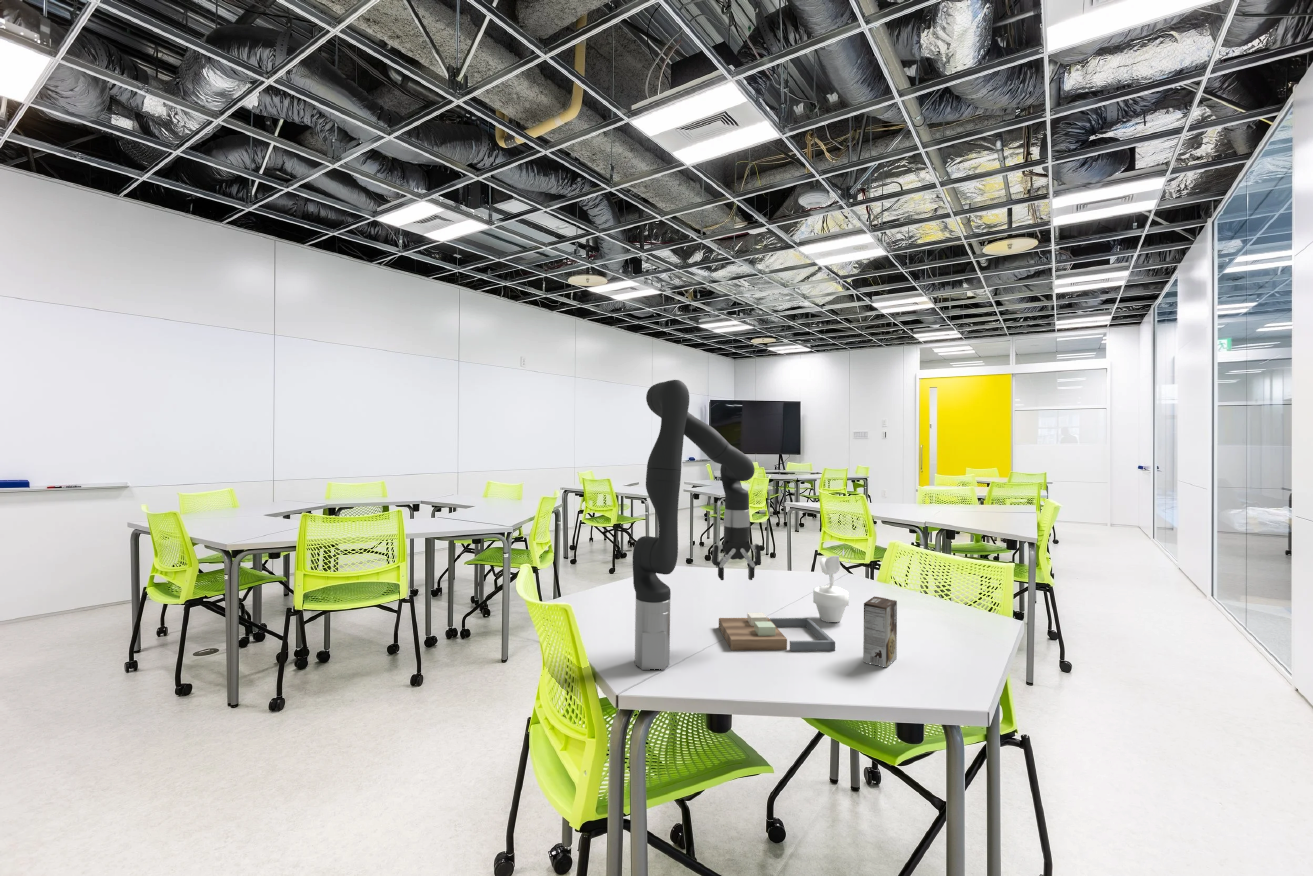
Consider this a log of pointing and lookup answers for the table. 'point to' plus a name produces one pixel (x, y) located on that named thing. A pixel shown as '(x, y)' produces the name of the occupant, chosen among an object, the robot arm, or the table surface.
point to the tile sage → (764, 628)
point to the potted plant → (831, 592)
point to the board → (749, 636)
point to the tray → (824, 640)
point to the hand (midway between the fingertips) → (736, 579)
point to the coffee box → (880, 631)
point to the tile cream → (756, 618)
